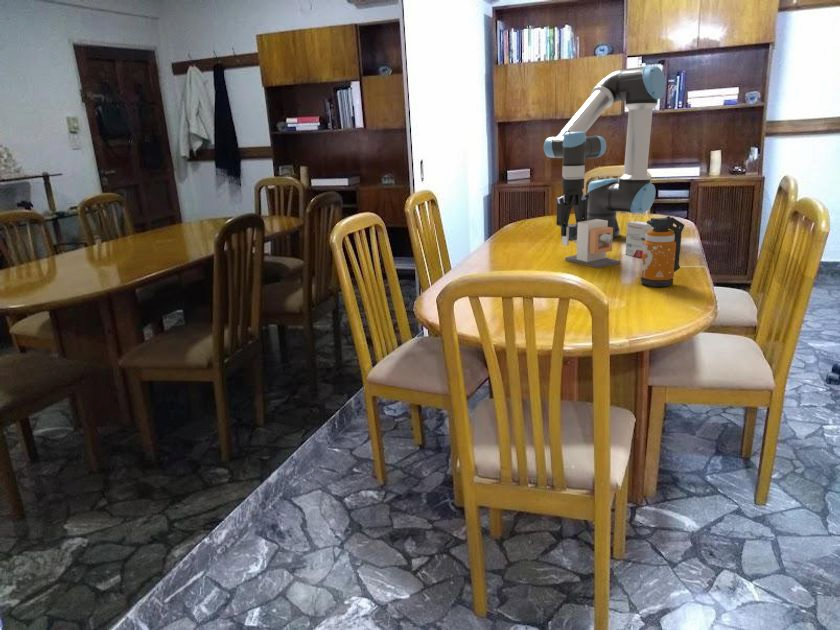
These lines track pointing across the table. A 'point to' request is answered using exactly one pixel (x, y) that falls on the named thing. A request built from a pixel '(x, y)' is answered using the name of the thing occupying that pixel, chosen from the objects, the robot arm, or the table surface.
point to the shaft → (573, 234)
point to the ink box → (636, 237)
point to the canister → (661, 252)
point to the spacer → (595, 239)
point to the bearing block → (584, 246)
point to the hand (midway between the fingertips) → (571, 243)
